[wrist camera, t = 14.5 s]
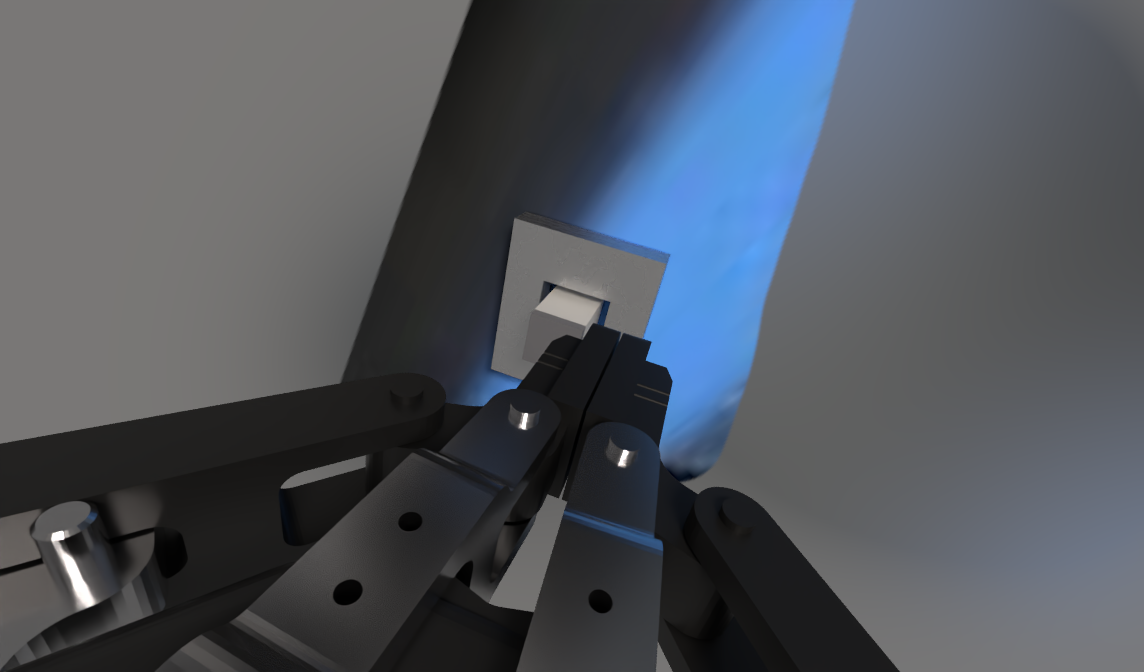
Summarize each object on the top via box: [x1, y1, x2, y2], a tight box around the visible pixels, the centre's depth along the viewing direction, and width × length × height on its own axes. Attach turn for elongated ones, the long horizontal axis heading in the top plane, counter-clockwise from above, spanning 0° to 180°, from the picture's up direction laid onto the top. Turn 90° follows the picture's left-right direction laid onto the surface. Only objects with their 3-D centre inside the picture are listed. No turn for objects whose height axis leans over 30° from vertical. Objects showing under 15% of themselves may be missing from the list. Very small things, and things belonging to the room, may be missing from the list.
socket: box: [491, 212, 670, 380], centre depth 41 cm, size 14×12×3 cm
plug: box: [522, 285, 604, 364], centre depth 39 cm, size 4×4×7 cm
